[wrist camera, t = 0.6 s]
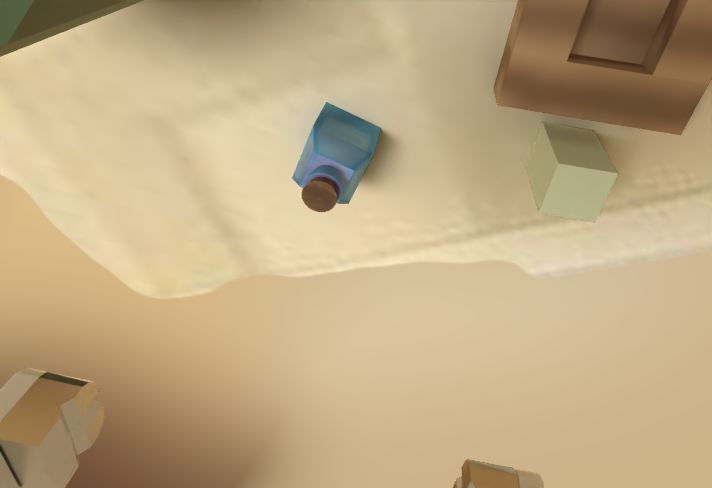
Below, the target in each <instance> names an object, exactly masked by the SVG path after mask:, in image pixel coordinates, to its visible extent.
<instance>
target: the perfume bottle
mask: <svg viewBox="0 0 712 488" xmlns="http://www.w3.org/2000/svg"><path fill="white" fill-rule="evenodd" d="M380 129H381V128H380V127H377V126H375V125H373V124H371V123H369V122H367V121H365V120H363V119H361V118H359V117H357V116H354V115H352V114H350V113H348V112H346V111H344V110H342V109H340V108H338V107H336V106H334V105H331V104H329V103H327V102H326V104H325V106H324V107H323V109H322V111H321V113H320V115H319V117H318V118H317V120H316V122H315V124H314V126H313V128H312V130H311V133H310V135H309V138H308V140H307V143H306V145H305V148H304V150H303V153H302V155H301V158H300V160H299V162H298V165H297V167H296V170H295V172H294V175H293V177H292V179H293V180H294V181H295V182H296V183H297V184H298V185H299V186H300V187H302V188H303V190H302V199H303V201H304V203H305V204H306V205H307V207H308V208H310V209H312V210H314V211H317V212H326V211H329V210H331V209H332V208H333V207H334V206H335V205H336V203H338V204H348V203H349V202H350V200H351V198H352V196H353V194H354V192H355V190H356V188H357V186H358V184H359V182H360V180H361V178H362V176H363V174H364V172H365V170H366V168H367V166H368V164H369V162H370V160H371V158H372V156H373V154H374V151H375V147H376V144H377V140H378V137H379V133H380Z"/></svg>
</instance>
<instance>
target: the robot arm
mask: <svg viewBox="0 0 712 488" xmlns="http://www.w3.org/2000/svg"><path fill="white" fill-rule="evenodd" d="M98 392H99V391H98V388H97V385H96V383H95V382H92V381H88V380H83V379H78V378H73V377H68V376H64V375H59V374H54V373H51V372H47V371H42V370H37V369H32V368H27V367H25V368H23V369H22V370H20V371H18V372H17V373H15V374H14V376H13V377H12V378H11V379H10V380H9V381H8V382H7V383H6V385H4V387H3V388H2V389H1V390H0V488H65V486H66V485H67V483H68V482H69V480H70V479H71V477H72V476H73V474H74V472H75V471H76V469H77V468H78V466H79V458H78V454H80V453H82V452H83V451H85V450H86V449H88V448H90V447H91V446H92V444H93V443H94V441H95V440H96V438H97V436H98V435H99V432H100V430H101V427H102V424H103V421H104V408H103V405H102V403H101V402H100V401H98V400H97V399H96V398H95V396H96V395H97V393H98ZM453 488H544V485H543V480H542V478H541V477H540V475H539V474H537V473H533V472H529V471H524V470H518V469H514V468H511V467H506V466H500V465H495V464H490V463H484V462H479V461H474V460H469V459H468V460H466V461H465V462H464V464H463V466H462V477H459V478H457V479H456V481H455V484H454V486H453Z"/></svg>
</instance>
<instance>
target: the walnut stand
mask: <svg viewBox="0 0 712 488" xmlns="http://www.w3.org/2000/svg"><path fill="white" fill-rule="evenodd" d="M711 79H712V0H518V4H517V7H516V11H515V14H514V18H513V21H512V25H511V28H510V32H509V35H508V39H507V43H506V46H505V50H504V53H503V57H502V60H501V64H500V67H499V71H498V74H497V78H496V81H495V85H494V92H495V97H496V102H497V105H500V106H506V107H513V108H519V109H525V110H531V111H537V112H543V113H549V114H555V115H561V116H567V117H574V118H580V119H586V120H592V121H598V122H604V123H610V124H616V125H622V126H628V127H635V128H641V129H647V130H653V131H659V132H665V133H671V134H677V135H681V134H682V132H683V130H684V128H685V126H686V125H687V123H688V121H689V119H690V117H691V115H692V114H693V112H694V110H695V108H696V106H697V104H698V103H699V101H700V99H701V97H702V95H703V93H704V91H705V90H706V88H707V86H708V84H709V82H710V80H711Z"/></svg>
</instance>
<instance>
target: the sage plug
mask: <svg viewBox="0 0 712 488" xmlns="http://www.w3.org/2000/svg"><path fill="white" fill-rule="evenodd" d="M526 168H527V172H528V175H529V179H530V183H531V186H532V190H533V194H534V198H535V201H536V205H537V209H538V212H539V213H542V214H548V215H554V216H559V217H565V218H571V219H577V220H582V221H588V222H594V223H595V221H596V219H597V217H598V215H599V213H600V211H601V209H602V207H603V204H604V202H605V200H606V198H607V196H608V194H609V192H610V190H611V188H612V186H613V184H614V182H615V180H616V178H617V176H618V172H617V170H616V168H615V167H614V165H613V163H612V161H611V160H610V158H609V156H608V155H607V153H606V151H605V149H604V148H603V146H602V144H601V142H600V141H599V139H598V137H597V135H596V134H595V132H594V130H589V129H583V128H576V127H570V126H564V125H558V124H552V123H546V122H542V124H541V127H540V130H539V133H538V135H537V138H536V141H535V144H534V146H533V149H532V152H531V155H530V158H529V160H528V163H527V166H526Z"/></svg>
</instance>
